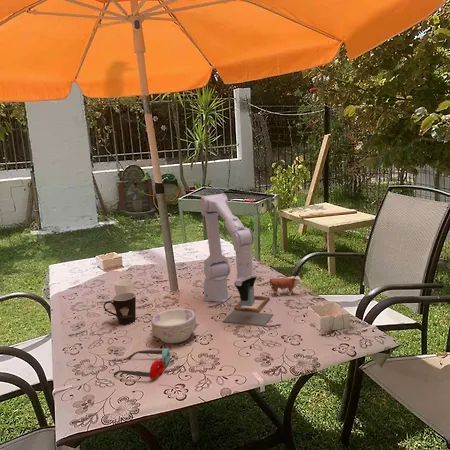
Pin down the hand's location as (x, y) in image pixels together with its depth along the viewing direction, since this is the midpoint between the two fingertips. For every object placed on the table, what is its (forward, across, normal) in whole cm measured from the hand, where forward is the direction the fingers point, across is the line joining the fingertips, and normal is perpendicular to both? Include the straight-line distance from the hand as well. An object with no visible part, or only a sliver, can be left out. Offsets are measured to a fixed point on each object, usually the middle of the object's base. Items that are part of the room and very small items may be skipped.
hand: (246, 298), depth 172 cm
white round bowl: (+8, -21, +19) cm, 29 cm away
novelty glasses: (+9, -42, +18) cm, 47 cm away
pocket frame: (+8, +13, +3) cm, 16 cm away
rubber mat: (+8, 0, 0) cm, 8 cm away
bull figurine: (+8, +27, -7) cm, 29 cm away
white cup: (+8, +2, +55) cm, 56 cm away
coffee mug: (+8, -13, +46) cm, 48 cm away
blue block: (+2, 0, 0) cm, 2 cm away
